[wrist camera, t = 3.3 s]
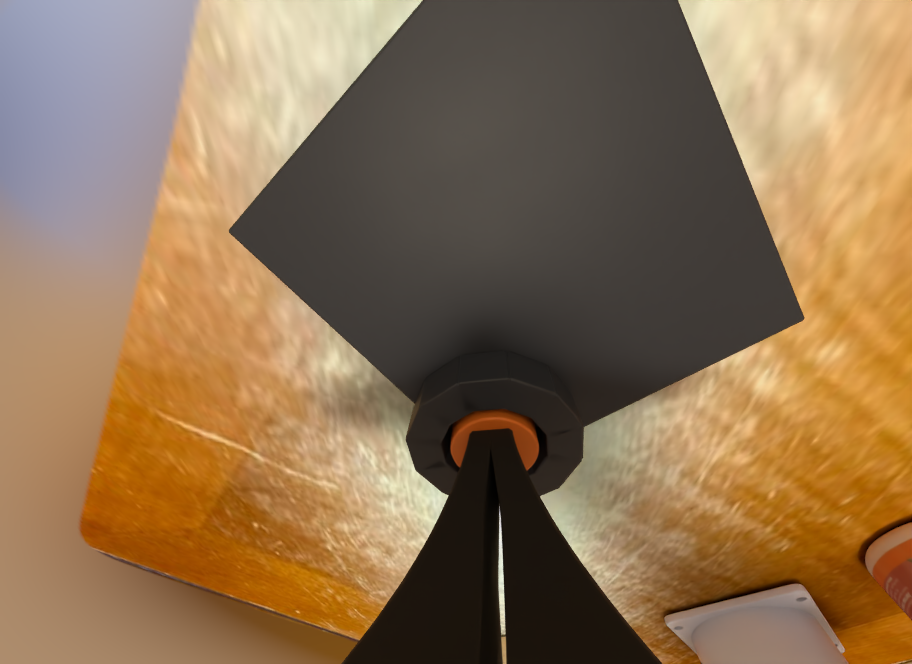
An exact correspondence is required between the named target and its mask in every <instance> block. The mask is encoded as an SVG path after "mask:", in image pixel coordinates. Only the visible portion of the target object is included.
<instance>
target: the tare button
mask: <svg viewBox="0 0 912 664" xmlns="http://www.w3.org/2000/svg"><path fill="white" fill-rule="evenodd" d="M505 428H509V429H511V430H512V431H513V436H514V439H515V443H516V446H517V449H518V451H519V454H520V456H521V459H522V461H523V464H524V466H525V468H526V470H528V469H529V468H531V466H532V465H533V464H534V463H535V461H536V459H537V457H538V453H539V443H538V438H537V433H536V428H535V423H534V421H533V420H532V419H531V418H530V417H527V416H524V415H521V414H518V413H515V412H512V411H509V410H506V409H496V410H484V411H473V412H472V413H470V414H468V415H466V416H465V417H463V418H461V419H460V420H458V421H456V422H454V423H453V424H452V435H451V446H450V449H451V454H452V457H453V459H454V461H455V463H456V464H457V465H458V466H459V467H460V466H461V463H462V460H463V457H464V454H465V451H466V447H467V443H468V439H469V434H470V433H471V432H472V431H480V430H493V429H505Z"/></svg>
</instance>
